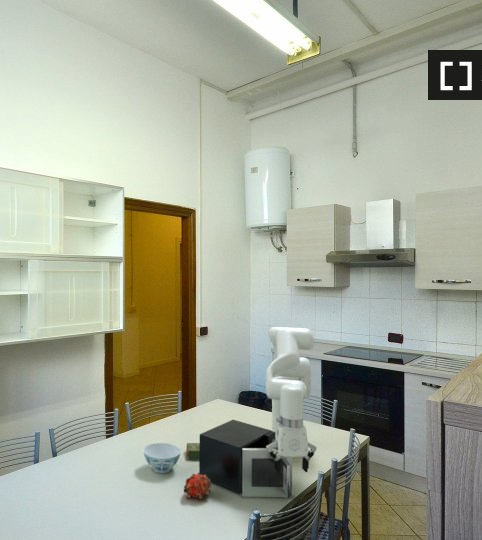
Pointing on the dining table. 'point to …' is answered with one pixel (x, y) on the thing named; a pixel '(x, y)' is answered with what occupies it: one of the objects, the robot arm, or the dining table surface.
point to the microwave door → (265, 474)
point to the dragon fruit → (197, 486)
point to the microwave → (229, 451)
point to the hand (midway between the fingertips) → (291, 470)
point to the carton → (193, 451)
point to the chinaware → (162, 456)
